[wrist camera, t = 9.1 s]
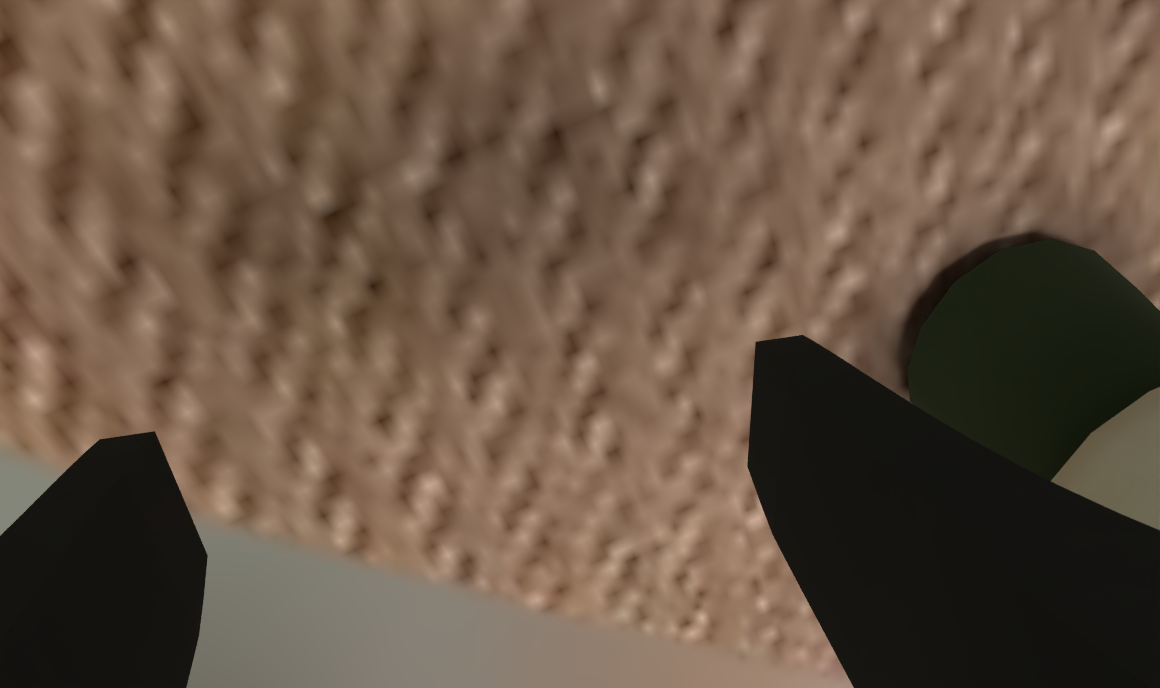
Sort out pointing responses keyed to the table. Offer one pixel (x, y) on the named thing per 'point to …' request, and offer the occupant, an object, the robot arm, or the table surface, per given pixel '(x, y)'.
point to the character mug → (1051, 371)
